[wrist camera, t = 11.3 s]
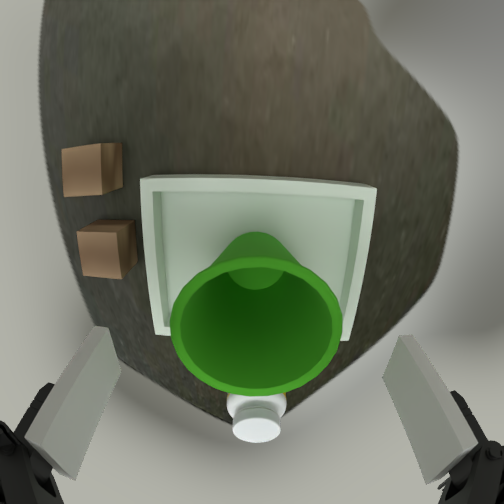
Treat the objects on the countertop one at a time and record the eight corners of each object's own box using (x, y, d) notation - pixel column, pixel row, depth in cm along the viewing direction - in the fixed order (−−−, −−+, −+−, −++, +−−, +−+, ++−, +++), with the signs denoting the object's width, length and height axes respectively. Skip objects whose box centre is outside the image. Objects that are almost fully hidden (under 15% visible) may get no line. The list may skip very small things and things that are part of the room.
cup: (245, 322, 27) (241, 414, 16) (181, 249, 24) (134, 320, 14) (327, 269, 25) (369, 348, 14) (267, 184, 22) (279, 216, 12)
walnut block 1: (86, 147, 22) (61, 149, 18) (122, 142, 22) (100, 143, 18) (87, 189, 23) (63, 197, 20) (123, 187, 23) (102, 194, 20)
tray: (153, 175, 23) (140, 178, 20) (363, 183, 23) (376, 188, 20) (163, 317, 28) (155, 334, 25) (340, 323, 28) (348, 340, 25)
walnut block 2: (98, 219, 24) (76, 231, 21) (135, 220, 24) (116, 232, 21) (102, 258, 26) (83, 275, 22) (138, 261, 26) (121, 279, 22)
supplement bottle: (286, 342, 29) (297, 416, 20) (275, 378, 31) (281, 448, 21) (234, 336, 28) (227, 410, 19) (228, 373, 30) (221, 444, 21)
